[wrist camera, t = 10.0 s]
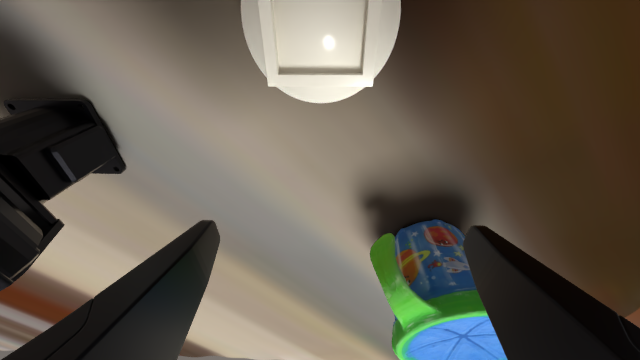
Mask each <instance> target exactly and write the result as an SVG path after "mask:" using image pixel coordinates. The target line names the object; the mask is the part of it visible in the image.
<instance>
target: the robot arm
mask: <svg viewBox="0 0 640 360" xmlns="http://www.w3.org/2000/svg"><path fill="white" fill-rule="evenodd" d="M4 105H5V107H6V108H7V110H8V111H9V112H10V114H11V115H10V116H7V117H4V118H1V119H0V291H1V290H3V289H5V288H6V287H8V286H10V285H11V284H12V283H13V282H14V281H16V280H17V279H18V278H19V277H21V276H22V275H23V274H24V273H25V272H26V271H27V270H28V269H29V268H30V266H31V265H32V264H33V263H34V262H35V260H36V259H37V258H38V257H39V255H40V254H41V253H42V252H43V251H44V249H45V248H46V247H47V246H48V244H49V243H50V242H51V241H52V240H53V238H54V237H55V236H56V235H57V233H58V232H59V231H60V230H61V229H62V227H63V226H64V224H63V222H62V221H61V220H60V219H56V218H55V216H54V215H53V214H52V213H51V212H50V211H49V210H48V209H47V208H46V207H45V206H44V205H43V203H45V202H46V201H48V200H50V199H52V198H53V197H55V196H56V195H58V194H59V193H61V192H62V191H64V190H65V189H67V188H68V187H70V186H71V185H73V184H74V183H76V182H78V181H80V180H81V179H83V178H84V177H86V176H87V175H89V174H90V173H101V174H120V173H122V172H123V171H125V169H126V168H125V166H124V164H123V162H122V160H121V159H120V157H119V155H118V153H117V151H116V149H115V148H114V146H113V144H112V142H111V140H110V138H109V136H108V135H107V133H106V131H105V129H104V127H103V125H102V124H101V122H100V120H99V118H98V116H97V114H96V113H95V111H94V109H93V107H92V105H91V104H90V103H89V102H88V101H86V100H84V99H10V100H6V101H4ZM82 105H83V106H84V107H83V106H82ZM219 243H220V235H219V232H218V229H217V226H216V224H215V222H214V221H213V220H202V221H200V222H198V223H197V224H196V225H194V226H193V227H191V228H190V229H189V230H187V231H186V232H184V233H183V234H182V235H180V236H179V237H177V238H176V239H175V240H173V241H172V242H170V243H169V244H168V245H166V246H165V247H163V248H162V249H161V250H159V251H158V252H156V253H155V254H154V255H152V256H151V257H149V258H148V259H147V260H145V261H144V262H142V263H141V264H140V265H138V266H137V267H135V268H134V269H133V270H131V271H130V272H128V273H127V274H126V275H124V276H123V277H121V278H120V279H119V280H117V281H116V282H114V283H113V284H112V285H110V286H109V287H107V288H106V289H105V290H103V291H102V292H100V293H99V294H98V295H96V296H95V297H94V299H91V300H89V301H88V302H86V303H85V304H84V305H82V306H81V307H79V308H78V309H77V310H75V311H74V312H72V313H71V314H69V315H68V316H67V317H65V318H64V319H62V320H61V321H59V322H58V323H56V324H55V325H54V326H52V327H51V328H49V329H48V330H46V331H45V332H43V333H41V334H40V335H38V336H37V337H35V338H34V339H32V340H31V341H29V342H28V343H26V344H25V345H23V346H22V347H20V348H19V349H17V350H15V351H14V352H12V353H11V354H9V355H8V356H7V357H5V358H3V359H2V360H177V359H178V356H179V354H180V351H181V349H182V346H183V344H184V341H185V339H186V336H187V334H188V331H189V329H190V326H191V324H192V321H193V319H194V316H195V314H196V312H197V309H198V307H199V304H200V302H201V299H202V297H203V294H204V292H205V289H206V287H207V284H208V281H209V278H210V275H211V271H212V268H213V264H214V261H215V257H216V254H217V250H218V247H219ZM463 249H464V252H465V255H466V259H467V262H468V265H469V268H470V271H471V274H472V277H473V280H474V283H475V286H476V289H477V292H478V294H479V296H480V299H481V301H482V303H483V306H484V308H485V310H486V312H487V315H488V317H489V319H490V321H491V324H492V326H493V328H494V330H495V333H496V335H497V337H498V340H499V342H500V344H501V346H502V349H503V351H504V353H505V355H506V358H507V360H640V328H639V327H637V326H636V325H634V324H633V323H631V322H630V321H628V320H627V319H625V318H624V317H622V316H618V314H617V313H616V312H615V311H613V310H612V309H610V308H609V307H607V306H606V305H604V304H602V303H601V302H599V301H598V300H596V299H595V298H593V297H592V296H590V295H589V294H587V293H586V292H584V291H583V290H581V289H580V288H578V287H577V286H575V285H574V284H572V283H571V282H569V281H568V280H566V279H565V278H563V277H562V276H560V275H559V274H557V273H556V272H554V271H553V270H551V269H550V268H548V267H547V266H545V265H543V264H542V263H540V262H539V261H537V260H536V259H534V258H533V257H531V256H530V255H528V254H527V253H525V252H524V251H522V250H521V249H519V248H518V247H516V246H515V245H513V244H512V243H510V242H509V241H507V240H506V239H504V238H503V237H501V236H500V235H498V234H497V233H495V232H494V231H492V230H491V229H489V228H487V227H486V226H471V227H470V228H469V230H468V232H467V234H466V236H465V239H464V241H463Z"/></svg>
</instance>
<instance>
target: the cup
mask: <svg viewBox="0 0 640 360" xmlns="http://www.w3.org/2000/svg"><path fill="white" fill-rule="evenodd" d="M400 14H401V0H241V17H242V26H243V30H244V35H245V39H246V42H247V45H248V48H249V50H250V52H251V54H252V57H253V59H254V60H255V62H256V64H257V65H258V67H259V68H260V70H261V71H262V72H263V74H264V75H265V76H266V77H267V80H268V87H277V88H279V89H280V90H281V91H283V92H284V93H286V94H288V95H290V96H292V97H294V98H296V99H299V100H302V101H306V102H311V103H330V102H335V101H339V100H342V99H345V98H348V97H350V96H352V95H354V94H356V93H357V92H359V91H360V90H362V89H363V88H364V87H373V79H374V78H375V77H376V76H377V75H378V73H379V72H380V71H381V69H382V68H383V66H384V65H385V63H386V61H387V60H388V58H389V56H390V54H391V51H392V49H393V47H394V44H395V41H396V38H397V34H398V29H399V24H400Z"/></svg>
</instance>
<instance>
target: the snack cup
mask: <svg viewBox="0 0 640 360" xmlns="http://www.w3.org/2000/svg"><path fill="white" fill-rule="evenodd" d="M464 239H465V235H464V234H463V233H462V232H461V231H460V230H459V229H458V228H456V227H455V226H453V225H451V224H448V223H445V222H443V221H442V220H437V219H433V220H432V221H424V222H419V223H416V224H413V225H411V226H409V227H406V228H402V229H400V231H399V232H398V233H397V235H396V237H394V235H393V234H392V233H387V234H385V235H383V236H382V237H381V238H379V239H378V240H377V241H376V242H375V243H374V244H373V246H372V248H371V251H370V258H371V261H372V264H373V267H374V269H375V271H376V274H377V276H378V279H379V281H380V283H381V286H382V288H383V291H384V293H385V296H386V298H387V300H388V303H389V305H390V306H391V308H392V310H393V312H394V314H395V322H394V324H393V333H392V334H393V337H392V347H393V350H394V352H395V354H396V355H397V356H398V357H399V359H400V360H507V358H506V355H505V353H504V351H503V349H502V346H501V344H500V342H499V340H498V337H497V335H496V333H495V330H494V328H493V326H492V324H491V321H490V319H489V317H488V315H487V312H486V310H485V308H484V306H483V303H482V301H481V299H480V296H479V294H478V292H477V289H476V286H475V283H474V280H473V277H472V274H471V271H470V268H469V265H468V262H467V259H466V255H465V252H464V249H463V241H464Z"/></svg>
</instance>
